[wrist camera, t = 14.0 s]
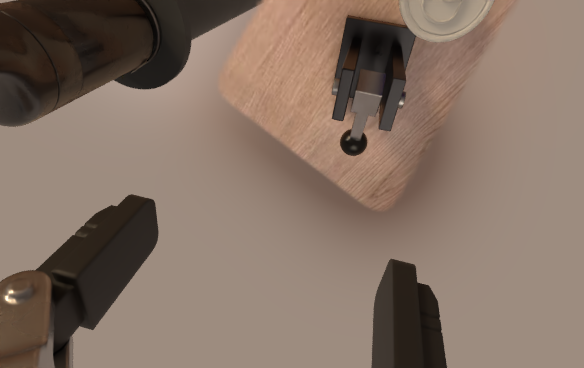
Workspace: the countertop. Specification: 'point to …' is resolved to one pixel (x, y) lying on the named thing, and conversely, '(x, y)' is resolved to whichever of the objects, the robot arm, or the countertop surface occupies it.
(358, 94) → the lever
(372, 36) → the bracket
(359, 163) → the countertop surface
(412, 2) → the beverage can
